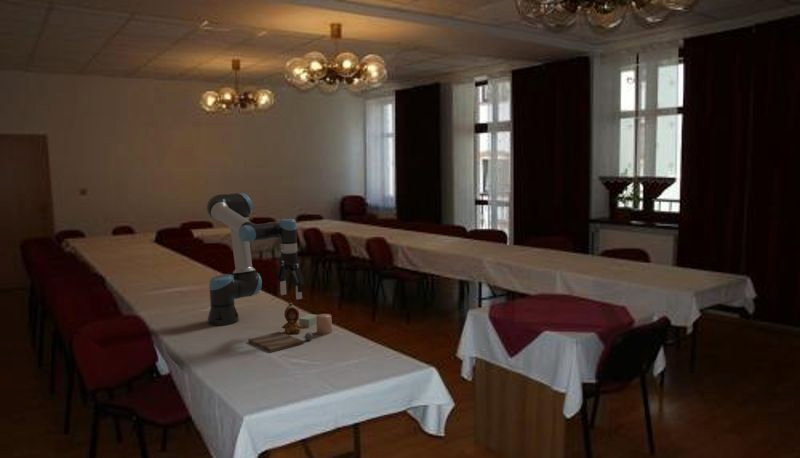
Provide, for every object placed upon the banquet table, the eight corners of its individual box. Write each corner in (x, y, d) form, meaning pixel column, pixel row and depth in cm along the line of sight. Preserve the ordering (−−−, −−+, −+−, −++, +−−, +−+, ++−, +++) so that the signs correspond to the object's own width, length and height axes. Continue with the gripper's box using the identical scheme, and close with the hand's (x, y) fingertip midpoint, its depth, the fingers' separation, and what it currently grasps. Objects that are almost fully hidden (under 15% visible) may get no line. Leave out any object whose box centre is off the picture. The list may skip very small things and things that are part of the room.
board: (248, 342, 263) (248, 339, 263) (279, 334, 274) (279, 331, 274) (271, 352, 248) (271, 348, 248) (303, 343, 259) (303, 340, 259)
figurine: (282, 335, 272) (280, 303, 274) (281, 334, 279) (279, 303, 281) (304, 333, 275) (302, 301, 277) (302, 332, 282) (300, 301, 284)
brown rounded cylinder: (314, 332, 277) (313, 315, 276) (326, 329, 281) (325, 313, 280) (322, 335, 271) (322, 318, 271) (334, 332, 276) (334, 315, 275)
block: (299, 326, 288) (298, 318, 288) (309, 321, 296) (309, 314, 296) (309, 327, 286) (308, 319, 285) (319, 322, 294) (319, 315, 293)
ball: (303, 340, 265) (303, 332, 264) (310, 338, 267) (309, 330, 267) (307, 341, 262) (307, 334, 262) (314, 340, 265) (314, 332, 264)
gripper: (268, 250, 281) (270, 294, 283) (297, 255, 262) (299, 302, 265) (282, 248, 286) (284, 291, 288) (311, 253, 267) (312, 299, 270)
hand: (291, 296), depth 276 cm, fingers open, 13 cm apart
